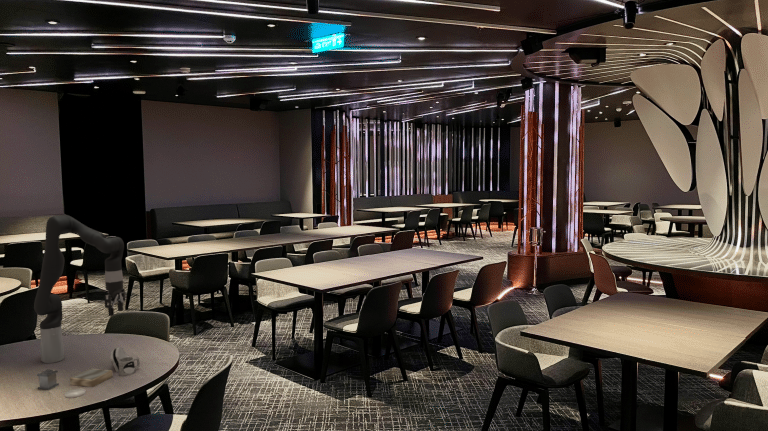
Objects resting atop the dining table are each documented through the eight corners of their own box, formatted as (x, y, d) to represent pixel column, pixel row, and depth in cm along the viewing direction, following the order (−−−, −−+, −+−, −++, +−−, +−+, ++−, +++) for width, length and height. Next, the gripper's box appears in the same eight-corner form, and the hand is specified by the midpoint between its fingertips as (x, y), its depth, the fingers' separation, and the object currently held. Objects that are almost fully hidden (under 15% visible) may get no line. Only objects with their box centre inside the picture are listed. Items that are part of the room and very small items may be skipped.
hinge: (128, 370, 267) (118, 352, 265) (117, 375, 266) (108, 356, 264) (131, 359, 283) (123, 341, 281) (122, 363, 282) (113, 346, 280)
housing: (38, 389, 247) (36, 372, 247) (48, 384, 253) (47, 368, 252) (48, 390, 246) (47, 373, 245) (58, 385, 251) (57, 369, 251)
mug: (124, 376, 260) (124, 362, 259) (116, 374, 263) (115, 360, 262) (144, 369, 268) (143, 356, 267) (135, 367, 272) (134, 354, 271)
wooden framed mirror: (70, 384, 251) (70, 377, 251) (90, 374, 263) (90, 368, 262) (93, 387, 248) (92, 380, 248) (112, 376, 260) (112, 370, 259)
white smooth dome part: (60, 397, 238) (59, 395, 238) (74, 390, 246) (74, 387, 246) (75, 399, 236) (75, 396, 236) (90, 391, 244) (90, 389, 244)
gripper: (114, 276, 273) (116, 309, 275) (98, 283, 259) (100, 317, 260) (129, 276, 273) (131, 309, 274) (113, 283, 258) (116, 317, 260)
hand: (116, 313), depth 267 cm, fingers open, 8 cm apart
